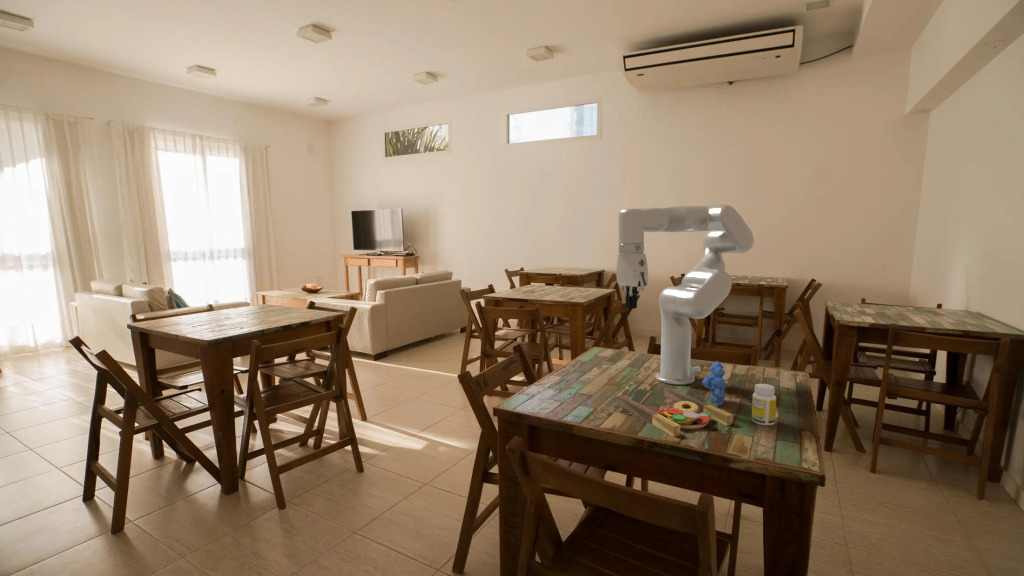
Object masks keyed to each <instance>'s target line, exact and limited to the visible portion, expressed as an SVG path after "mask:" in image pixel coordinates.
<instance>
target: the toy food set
mask: <svg viewBox="0 0 1024 576" xmlns="http://www.w3.org/2000/svg"><path fill="white" fill-rule="evenodd" d="M657 413H658V414H660V415H662V416H663V417H665V418H667V419H669V420H671V421H673V422H675V423H677V424H679V425H680V430H681V429H683V430H697V429H702V428H704V427H706V426H707V425H708V424H709V423H710V422H711V419H712V418H710V416H711V414H710V413H709V412H699V407H698V406H697V405H696V404H695V403H693V402H689V401H680V402H675V404H674V405H673V407H668V408H664V409H663V408H660V409H659V410H658V411H657Z"/></svg>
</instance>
